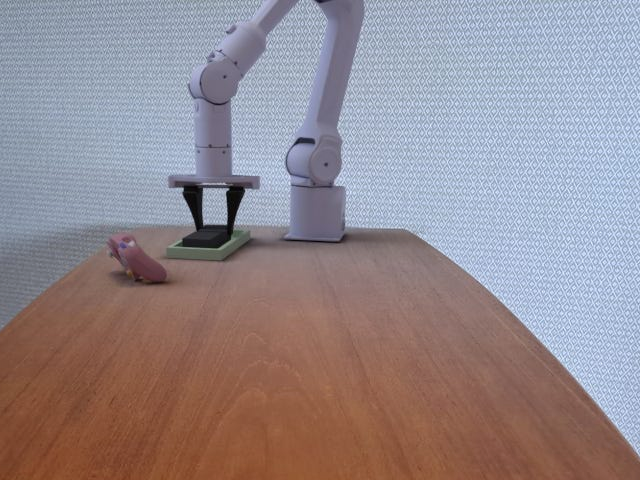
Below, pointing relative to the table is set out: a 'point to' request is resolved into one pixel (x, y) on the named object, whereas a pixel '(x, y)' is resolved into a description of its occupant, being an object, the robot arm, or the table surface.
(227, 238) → the pad loose
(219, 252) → the holder
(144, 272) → the video game controller
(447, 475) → the table surface
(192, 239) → the pad seated
